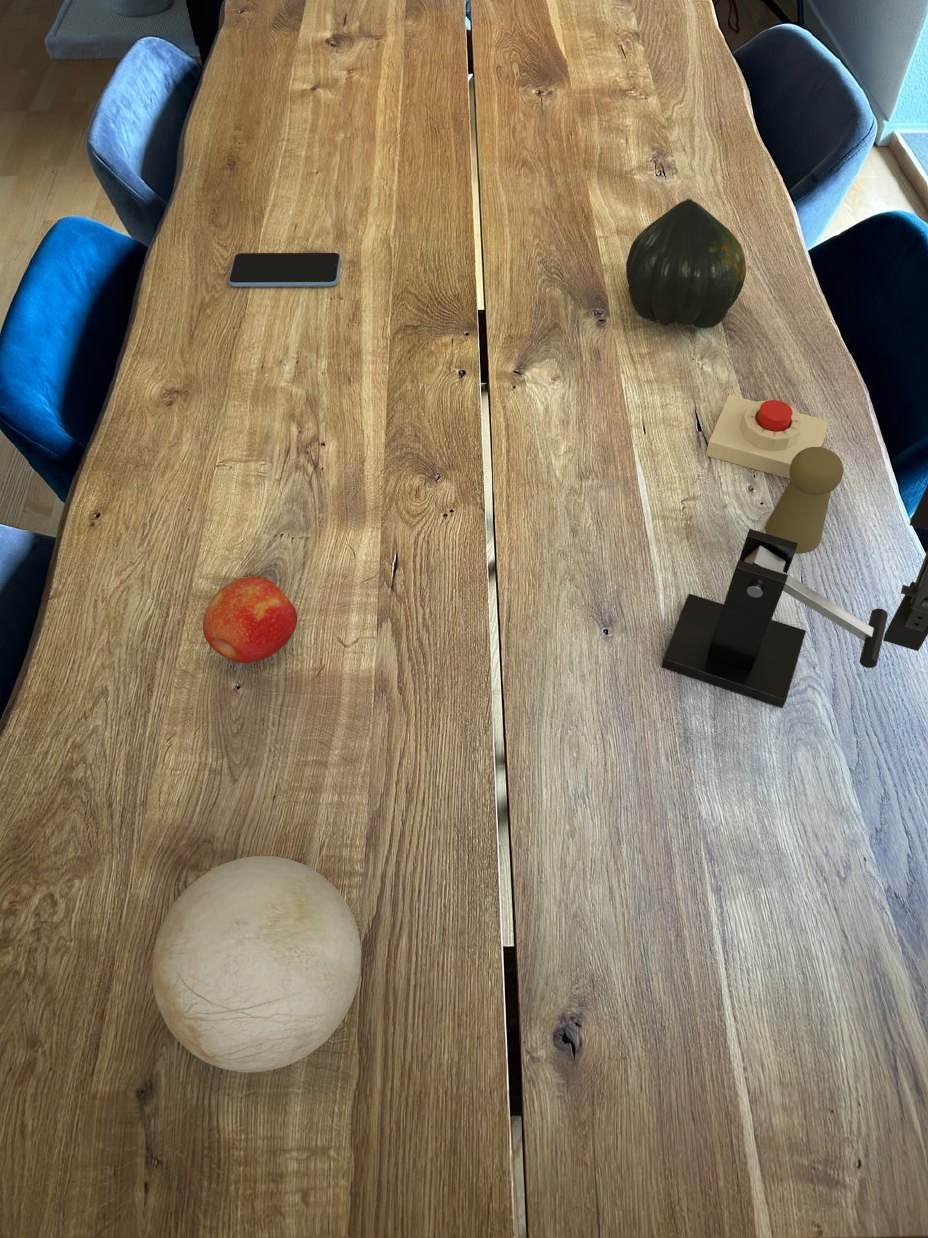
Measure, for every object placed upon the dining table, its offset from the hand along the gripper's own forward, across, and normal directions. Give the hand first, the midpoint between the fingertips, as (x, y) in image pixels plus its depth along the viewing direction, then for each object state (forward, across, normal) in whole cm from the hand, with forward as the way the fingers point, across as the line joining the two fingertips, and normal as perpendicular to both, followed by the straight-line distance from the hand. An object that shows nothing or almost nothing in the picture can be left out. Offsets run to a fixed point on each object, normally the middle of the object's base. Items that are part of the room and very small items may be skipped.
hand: (914, 582), depth 84 cm
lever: (+7, 0, -7) cm, 10 cm away
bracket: (+16, 0, -12) cm, 20 cm away
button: (+13, -31, -16) cm, 37 cm away
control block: (+16, -31, -16) cm, 39 cm away
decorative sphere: (+16, +47, -37) cm, 62 cm away
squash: (+16, -52, -33) cm, 64 cm away
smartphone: (+16, -39, -85) cm, 95 cm away
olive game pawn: (+17, -18, -10) cm, 27 cm away
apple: (+16, +18, -56) cm, 61 cm away
